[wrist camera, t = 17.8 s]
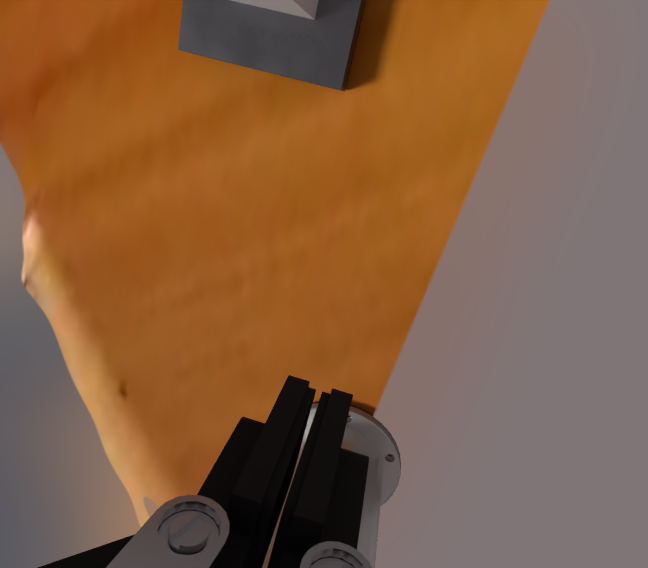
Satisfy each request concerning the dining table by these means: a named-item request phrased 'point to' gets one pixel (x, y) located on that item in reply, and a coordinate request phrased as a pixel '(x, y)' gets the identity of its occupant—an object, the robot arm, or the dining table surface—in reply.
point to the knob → (287, 6)
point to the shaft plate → (276, 38)
